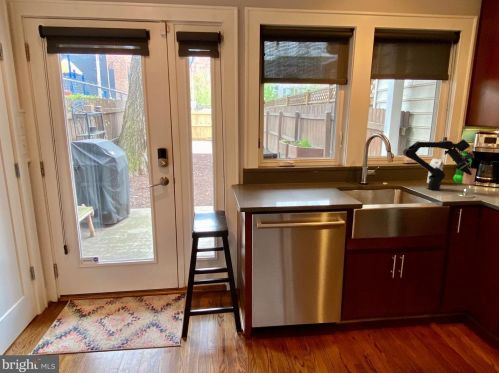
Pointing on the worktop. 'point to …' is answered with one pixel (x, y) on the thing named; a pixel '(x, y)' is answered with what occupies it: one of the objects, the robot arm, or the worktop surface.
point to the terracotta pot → (469, 177)
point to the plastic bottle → (459, 174)
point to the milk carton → (435, 165)
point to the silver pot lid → (465, 194)
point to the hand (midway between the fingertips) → (472, 174)
